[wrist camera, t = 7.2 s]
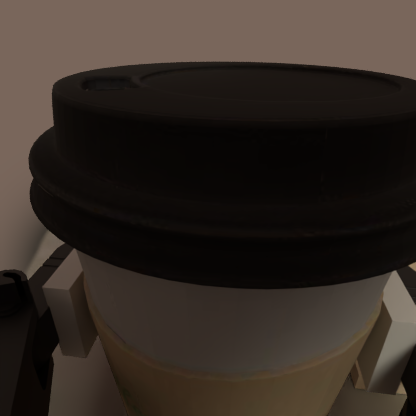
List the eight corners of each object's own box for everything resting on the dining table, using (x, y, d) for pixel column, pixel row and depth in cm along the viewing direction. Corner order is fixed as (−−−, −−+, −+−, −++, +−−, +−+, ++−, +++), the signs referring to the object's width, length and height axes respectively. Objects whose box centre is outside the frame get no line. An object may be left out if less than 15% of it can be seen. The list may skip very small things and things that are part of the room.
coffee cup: (67, 446, 14) (-63, 74, 7) (215, 324, 21) (223, 55, 13) (235, 722, 9) (384, 254, 2) (373, 440, 15) (531, 79, 8)
